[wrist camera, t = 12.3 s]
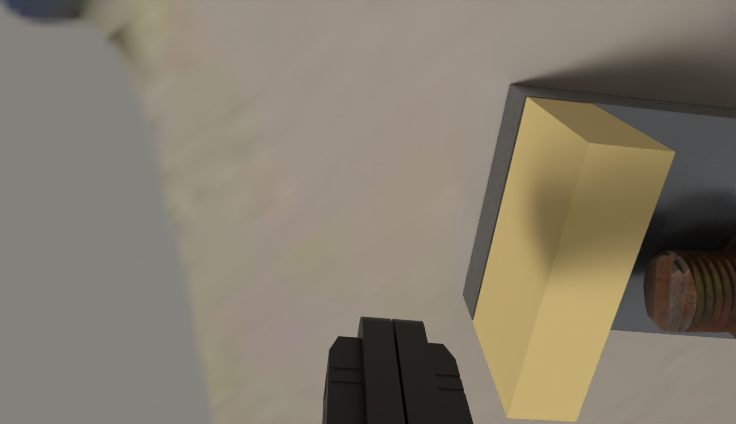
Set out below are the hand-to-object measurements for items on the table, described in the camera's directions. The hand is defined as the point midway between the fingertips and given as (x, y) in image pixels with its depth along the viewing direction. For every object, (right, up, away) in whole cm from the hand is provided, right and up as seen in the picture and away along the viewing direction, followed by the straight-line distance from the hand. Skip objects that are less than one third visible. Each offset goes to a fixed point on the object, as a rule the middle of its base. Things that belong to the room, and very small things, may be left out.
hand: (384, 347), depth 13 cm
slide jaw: (+6, +3, +9) cm, 11 cm away
